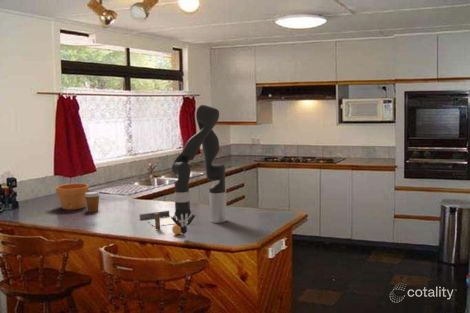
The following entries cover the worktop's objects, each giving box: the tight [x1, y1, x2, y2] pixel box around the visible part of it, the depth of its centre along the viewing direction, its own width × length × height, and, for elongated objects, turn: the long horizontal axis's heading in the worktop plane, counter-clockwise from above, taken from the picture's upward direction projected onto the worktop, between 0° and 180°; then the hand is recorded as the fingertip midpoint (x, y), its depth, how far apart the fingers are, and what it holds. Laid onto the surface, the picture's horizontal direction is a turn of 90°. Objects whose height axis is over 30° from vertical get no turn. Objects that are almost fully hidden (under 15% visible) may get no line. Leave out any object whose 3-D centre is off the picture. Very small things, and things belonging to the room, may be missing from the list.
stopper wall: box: [139, 210, 170, 220], centre depth 325 cm, size 2×18×3 cm, turn 114°
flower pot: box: [55, 183, 90, 211], centre depth 362 cm, size 21×21×15 cm
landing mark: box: [162, 217, 176, 226], centre depth 312 cm, size 14×14×1 cm
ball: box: [171, 224, 182, 236], centre depth 284 cm, size 6×6×6 cm
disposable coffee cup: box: [85, 190, 100, 213], centre depth 350 cm, size 10×10×12 cm
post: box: [154, 213, 161, 230], centre depth 296 cm, size 3×3×9 cm
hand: (183, 233), depth 275 cm, fingers closed
